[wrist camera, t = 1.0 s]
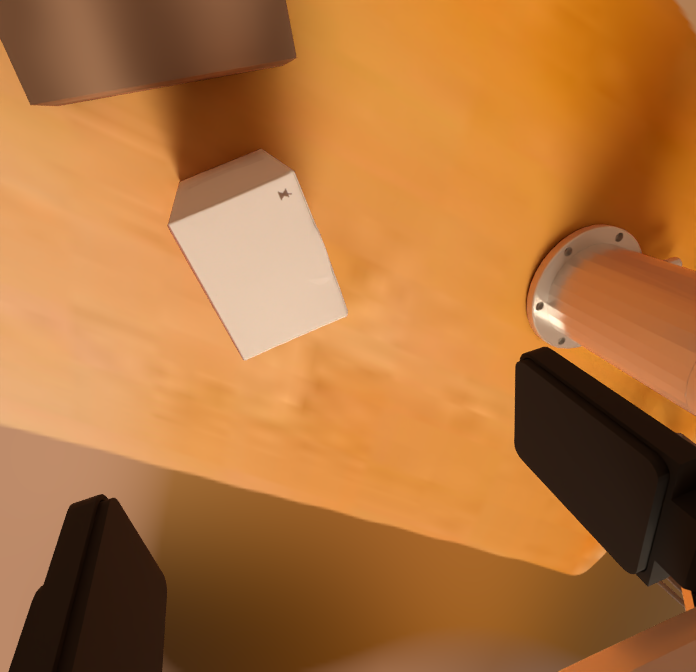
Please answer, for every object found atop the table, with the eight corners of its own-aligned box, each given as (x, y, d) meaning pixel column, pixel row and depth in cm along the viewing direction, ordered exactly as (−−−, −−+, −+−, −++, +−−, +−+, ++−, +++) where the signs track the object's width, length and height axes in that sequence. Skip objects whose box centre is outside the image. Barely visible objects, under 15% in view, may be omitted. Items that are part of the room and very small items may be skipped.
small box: (177, 181, 31) (162, 221, 20) (262, 146, 31) (296, 165, 20) (230, 283, 35) (243, 364, 24) (305, 250, 35) (353, 315, 24)
